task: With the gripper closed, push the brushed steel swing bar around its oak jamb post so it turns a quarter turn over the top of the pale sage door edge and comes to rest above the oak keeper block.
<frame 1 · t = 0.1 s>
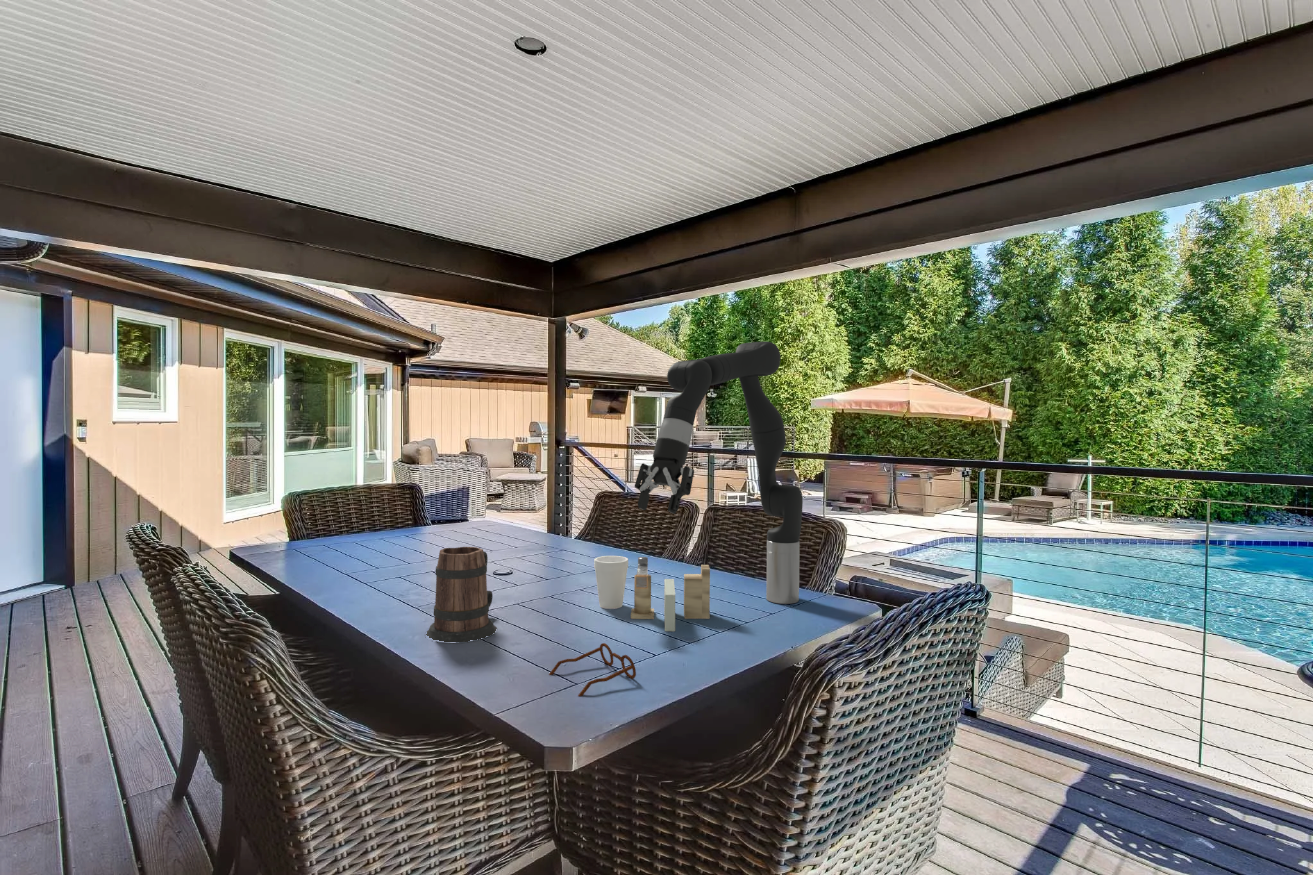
hand: (656, 510, 144), 31 cm above the table, tool tilted 20°, fingers open, 8 cm apart
glasses: (592, 680, 130), on the table
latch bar: (642, 571, 166), point 13 cm above the table, hinge at 0.0°
jamb post: (642, 615, 172), on the table
door edge: (669, 621, 167), on the table
keeper: (695, 615, 172), on the table
tankard: (467, 628, 162), on the table
foam cup: (611, 606, 182), on the table
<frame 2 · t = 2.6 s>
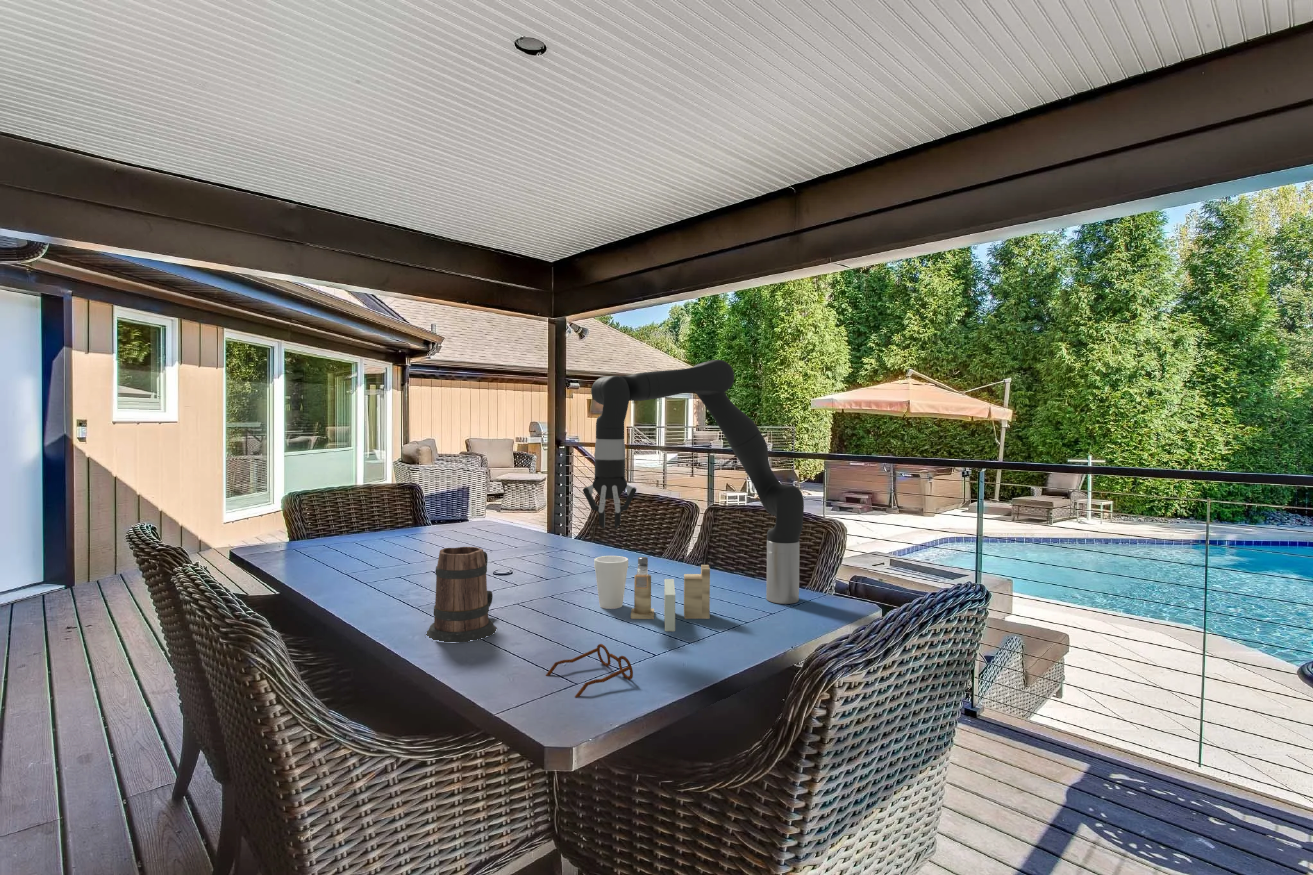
hand: (609, 527, 161), 25 cm above the table, tool pointing down, fingers closed
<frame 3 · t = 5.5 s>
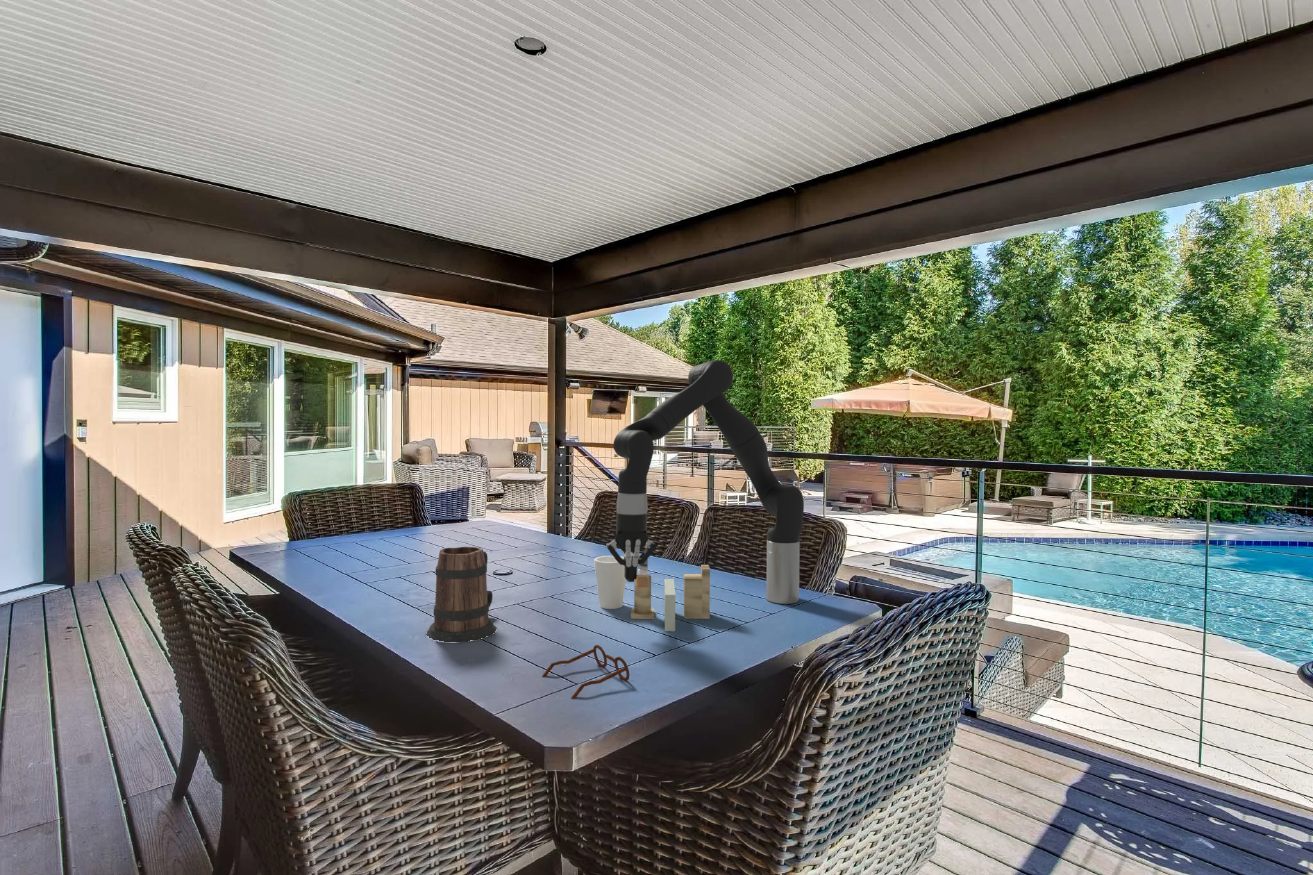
hand: (630, 581, 161), 12 cm above the table, tool pointing down, fingers closed
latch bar: (642, 571, 166), point 13 cm above the table, hinge at 1.5°, touching gripper
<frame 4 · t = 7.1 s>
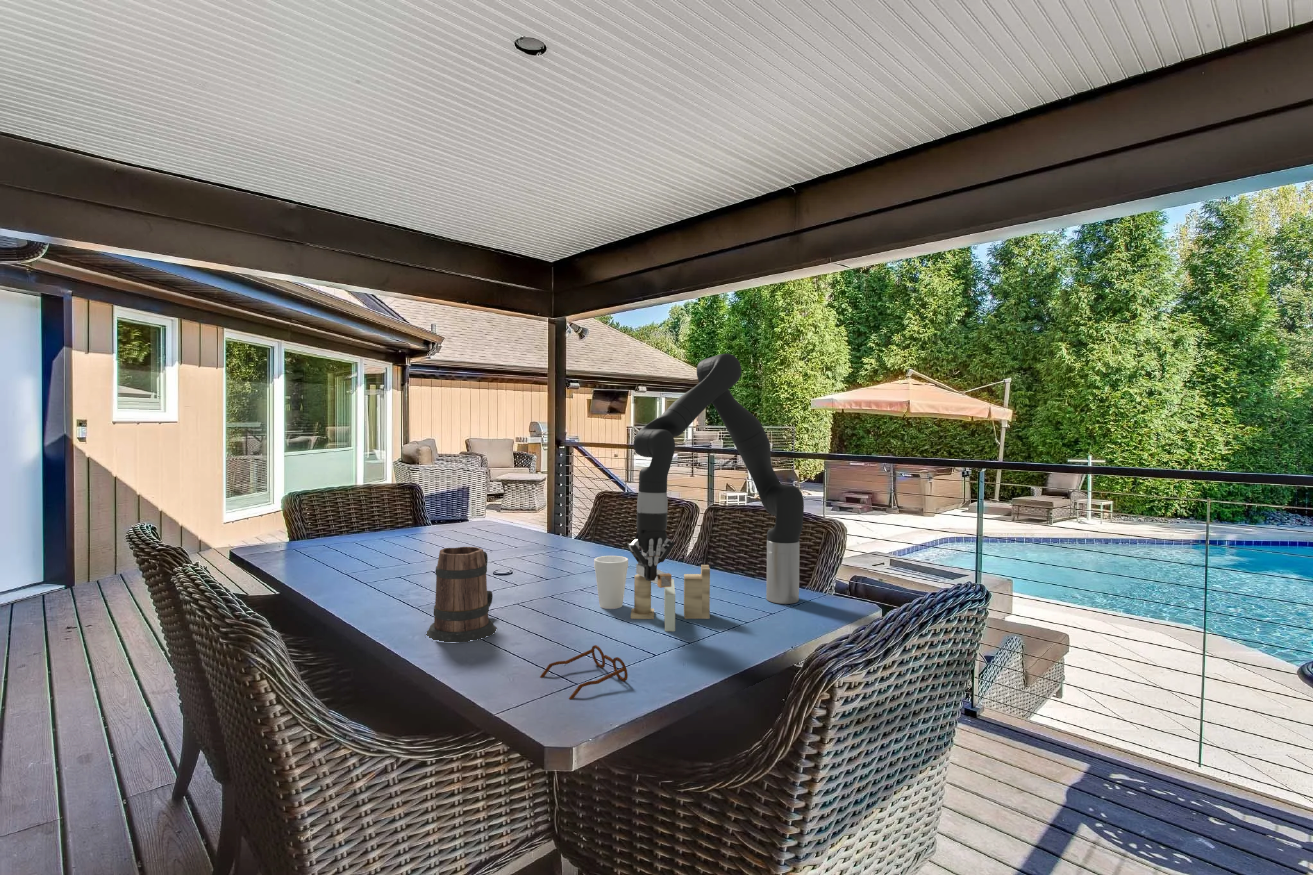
hand: (650, 580, 161), 12 cm above the table, tool pointing down, fingers closed
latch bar: (652, 571, 167), point 13 cm above the table, hinge at 25.1°, touching gripper
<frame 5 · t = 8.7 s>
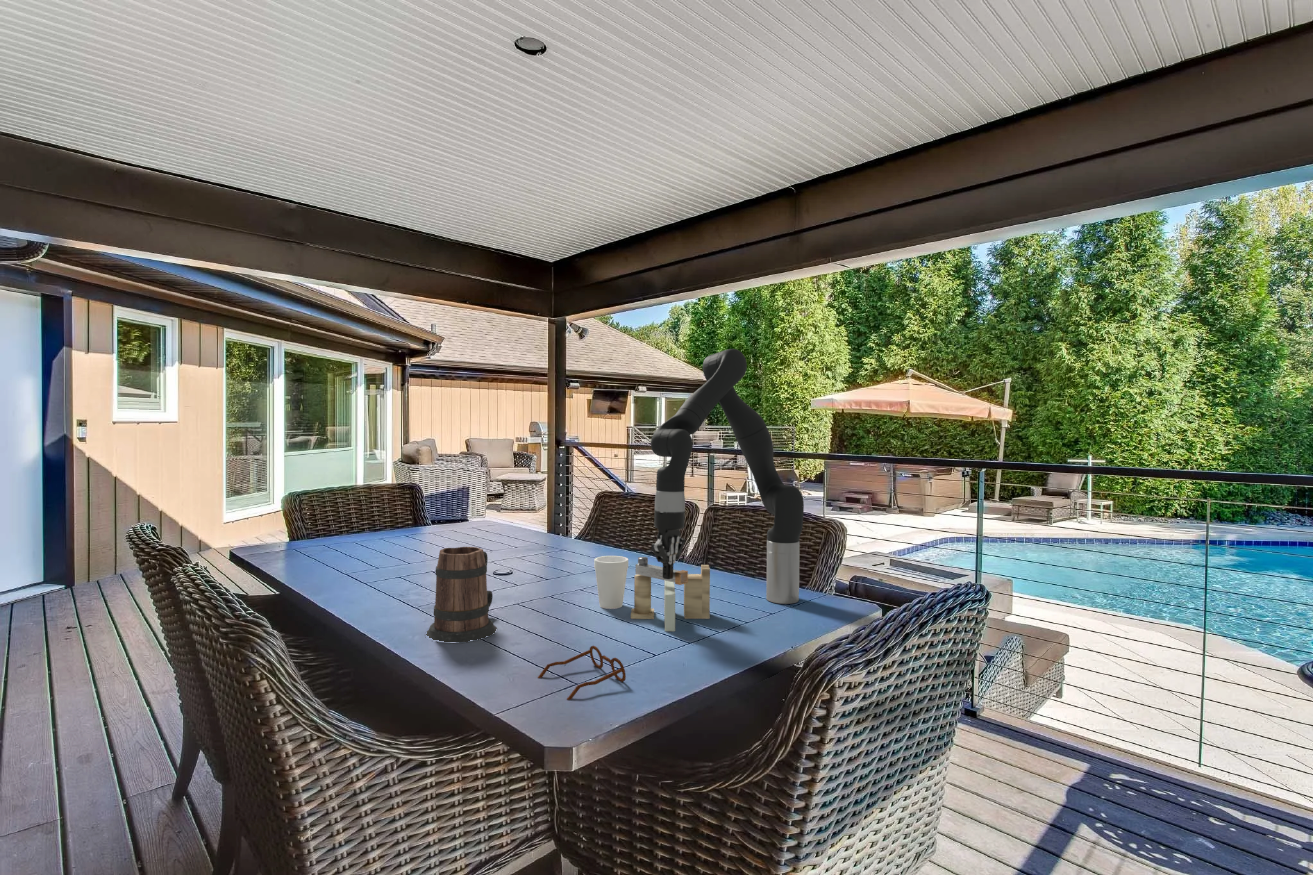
hand: (667, 578, 163), 12 cm above the table, tool pointing down, fingers closed
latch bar: (660, 570, 168), point 13 cm above the table, hinge at 48.5°, touching gripper
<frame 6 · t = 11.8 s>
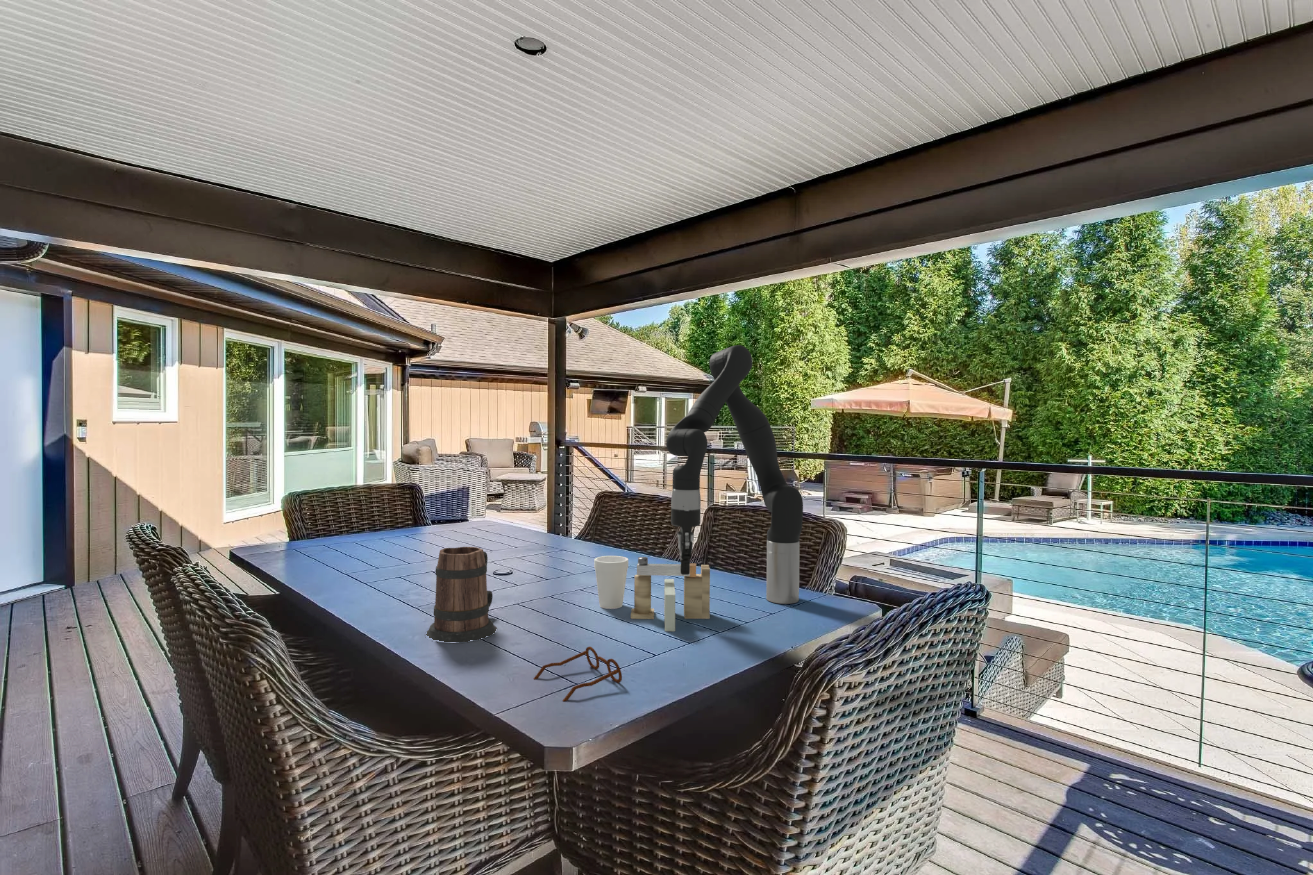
hand: (685, 573, 167), 12 cm above the table, tool pointing down, fingers closed
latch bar: (666, 566, 172), point 13 cm above the table, hinge at 87.4°
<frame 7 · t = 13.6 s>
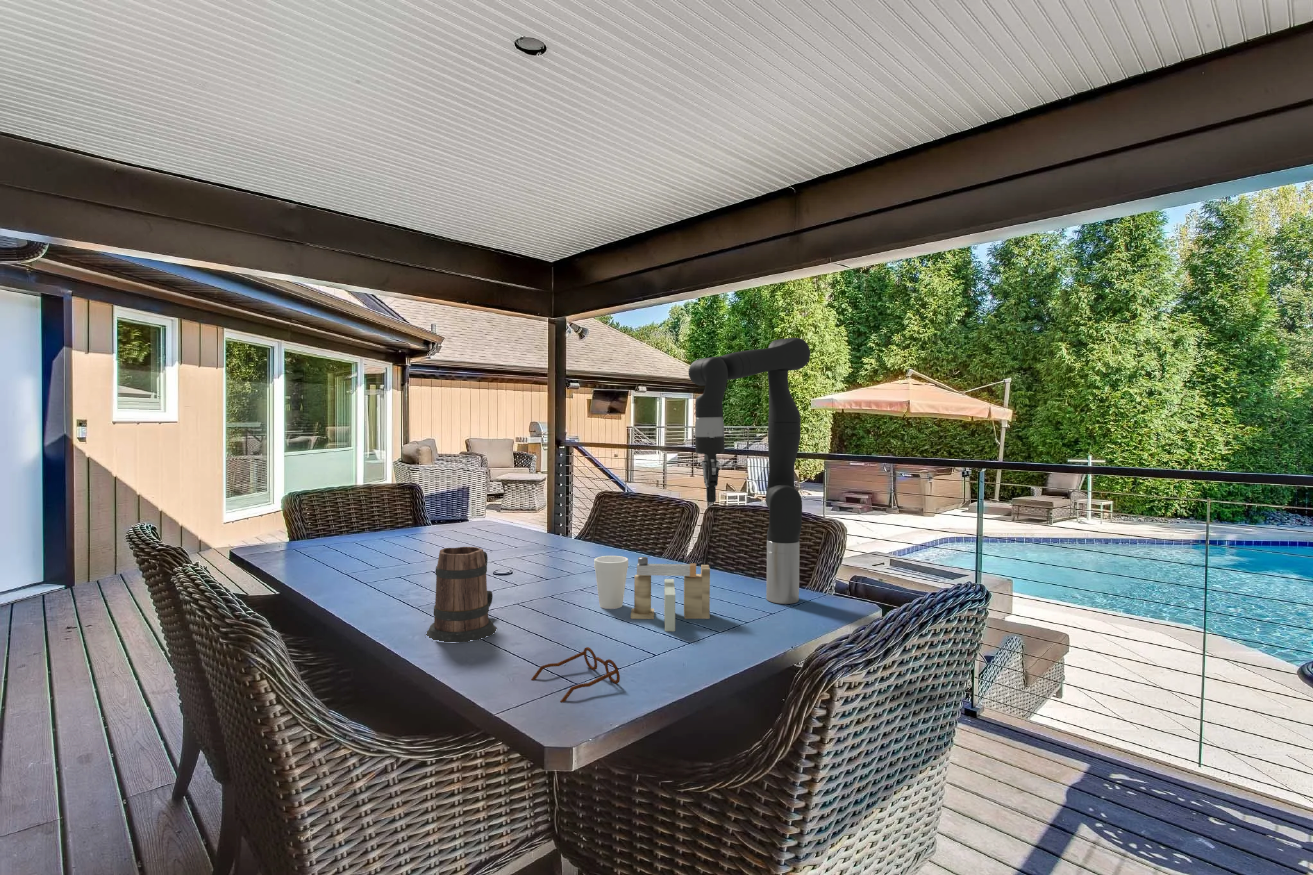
hand: (711, 501, 170), 31 cm above the table, tool pointing down, fingers closed
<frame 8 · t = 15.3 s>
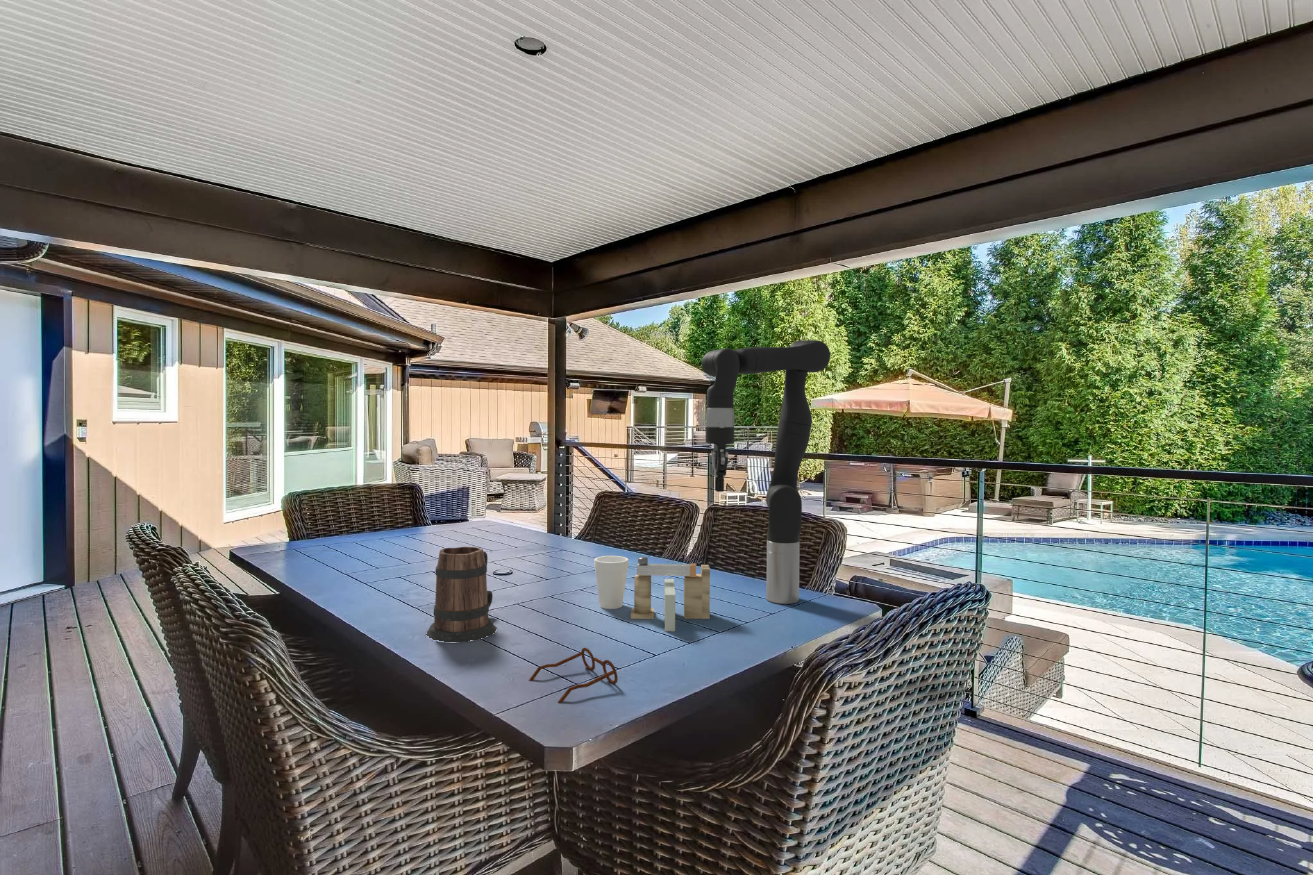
hand: (719, 491, 172), 33 cm above the table, tool pointing down, fingers closed
at the end: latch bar at +87° (first picture: +0°); foam cup moved 0.2 cm from its start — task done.
